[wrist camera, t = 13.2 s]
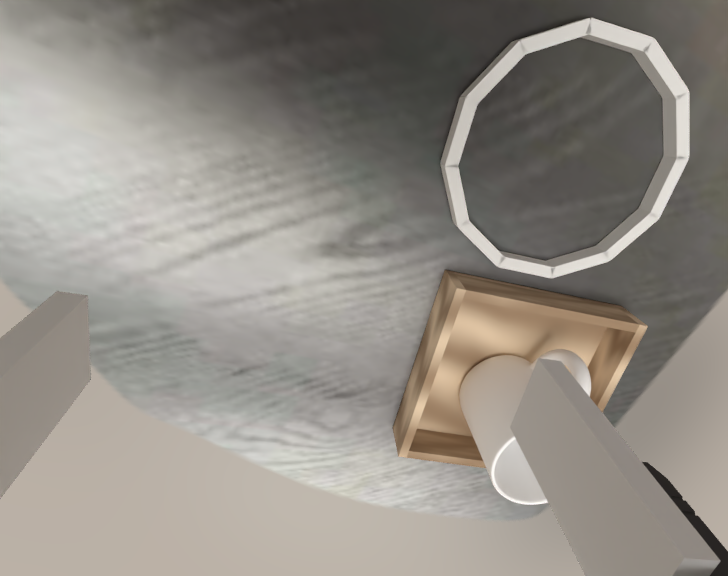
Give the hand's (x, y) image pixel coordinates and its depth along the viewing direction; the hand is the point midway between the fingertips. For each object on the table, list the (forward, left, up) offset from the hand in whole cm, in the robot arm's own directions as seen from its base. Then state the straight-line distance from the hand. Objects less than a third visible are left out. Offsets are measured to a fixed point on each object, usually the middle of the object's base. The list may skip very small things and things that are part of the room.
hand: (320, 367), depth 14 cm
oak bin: (+14, +21, -26) cm, 36 cm away
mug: (+14, +21, -26) cm, 36 cm away
